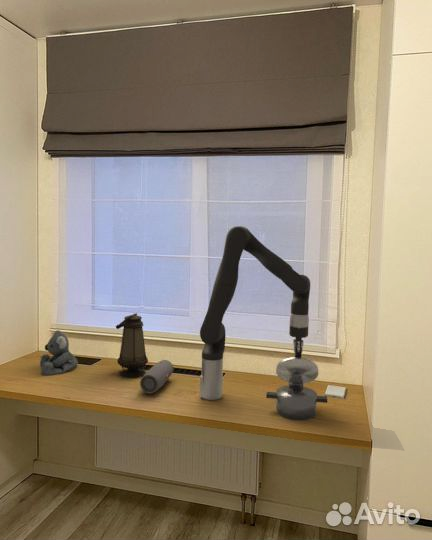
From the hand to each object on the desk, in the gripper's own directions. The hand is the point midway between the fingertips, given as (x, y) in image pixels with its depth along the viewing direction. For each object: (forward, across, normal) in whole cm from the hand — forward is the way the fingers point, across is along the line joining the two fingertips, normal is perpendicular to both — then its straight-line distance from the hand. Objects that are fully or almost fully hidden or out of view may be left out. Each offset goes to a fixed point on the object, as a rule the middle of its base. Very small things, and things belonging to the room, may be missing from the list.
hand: (297, 365), depth 181 cm
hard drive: (+19, -21, +18) cm, 34 cm away
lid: (+3, +1, 0) cm, 3 cm away
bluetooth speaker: (+18, -11, -62) cm, 65 cm away
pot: (+18, +4, 0) cm, 18 cm away
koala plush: (+18, -24, -117) cm, 121 cm away
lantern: (+18, -26, -79) cm, 85 cm away
